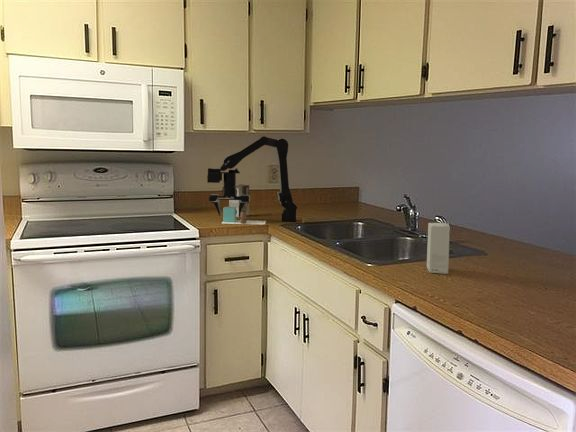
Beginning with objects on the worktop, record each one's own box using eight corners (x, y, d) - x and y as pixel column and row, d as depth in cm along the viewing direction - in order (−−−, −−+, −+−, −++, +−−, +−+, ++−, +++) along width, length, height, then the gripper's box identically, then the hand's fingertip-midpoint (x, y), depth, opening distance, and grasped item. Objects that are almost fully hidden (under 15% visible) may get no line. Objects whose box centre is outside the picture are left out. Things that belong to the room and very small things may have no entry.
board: (266, 222, 239) (266, 220, 239) (264, 226, 230) (264, 224, 229) (224, 221, 240) (224, 219, 240) (221, 225, 230) (221, 223, 230)
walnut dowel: (246, 224, 233) (246, 211, 232) (245, 225, 231) (245, 212, 230) (240, 224, 233) (241, 211, 232) (240, 225, 231) (240, 212, 230)
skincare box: (448, 274, 154) (451, 226, 152) (428, 273, 155) (431, 225, 153) (444, 267, 162) (447, 222, 160) (425, 266, 163) (428, 221, 161)
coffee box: (239, 215, 260) (239, 184, 258) (249, 216, 257) (249, 184, 254) (228, 217, 252) (228, 185, 250) (238, 218, 249) (239, 186, 247)
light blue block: (235, 220, 238) (235, 206, 237) (234, 222, 233) (234, 208, 232) (224, 220, 238) (224, 206, 237) (223, 222, 233) (223, 208, 232)
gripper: (251, 181, 241) (251, 214, 243) (212, 181, 241) (212, 213, 244) (249, 184, 230) (248, 217, 232) (208, 183, 230) (208, 216, 233)
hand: (229, 216), depth 236 cm, fingers open, 9 cm apart
